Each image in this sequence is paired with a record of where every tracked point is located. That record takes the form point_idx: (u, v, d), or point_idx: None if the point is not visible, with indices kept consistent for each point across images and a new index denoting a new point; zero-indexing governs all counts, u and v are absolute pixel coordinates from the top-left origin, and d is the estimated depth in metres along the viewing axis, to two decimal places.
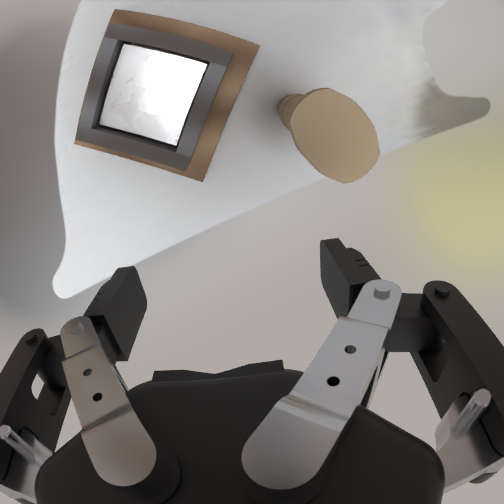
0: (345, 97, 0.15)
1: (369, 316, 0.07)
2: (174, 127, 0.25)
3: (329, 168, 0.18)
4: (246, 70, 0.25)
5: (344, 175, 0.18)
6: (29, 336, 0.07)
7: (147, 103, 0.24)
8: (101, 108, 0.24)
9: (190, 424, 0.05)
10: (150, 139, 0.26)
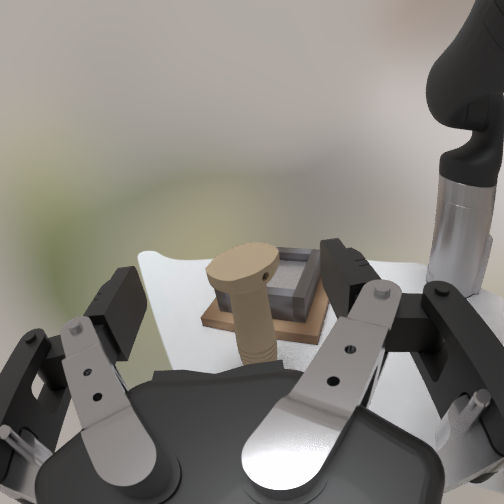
0: (274, 257, 0.24)
1: (369, 316, 0.07)
2: None
3: (218, 260, 0.25)
4: (293, 331, 0.35)
5: (212, 267, 0.24)
6: (29, 336, 0.07)
7: None
8: None
9: (190, 424, 0.05)
10: None
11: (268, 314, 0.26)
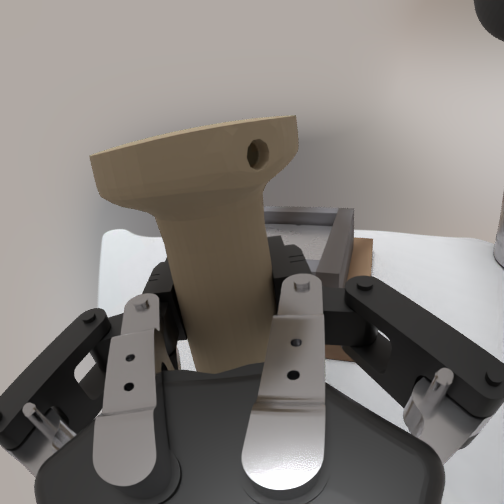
0: (285, 116, 0.08)
1: (279, 306, 0.08)
2: None
3: (137, 141, 0.09)
4: None
5: (111, 148, 0.08)
6: (88, 316, 0.08)
7: None
8: None
9: (190, 424, 0.05)
10: None
11: (268, 293, 0.10)
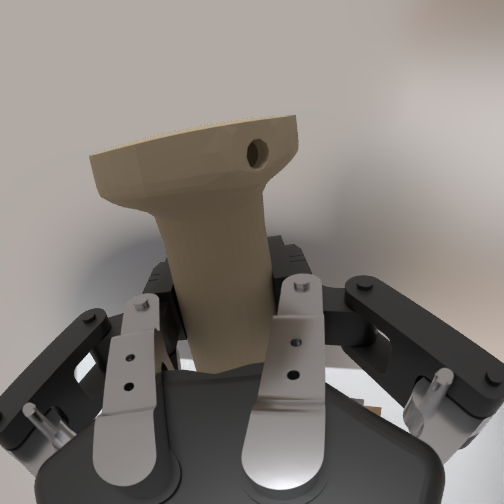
0: (285, 115, 0.08)
1: (279, 307, 0.08)
2: None
3: (137, 140, 0.09)
4: None
5: (111, 148, 0.08)
6: (88, 316, 0.08)
7: None
8: None
9: (190, 424, 0.05)
10: None
11: (267, 292, 0.10)
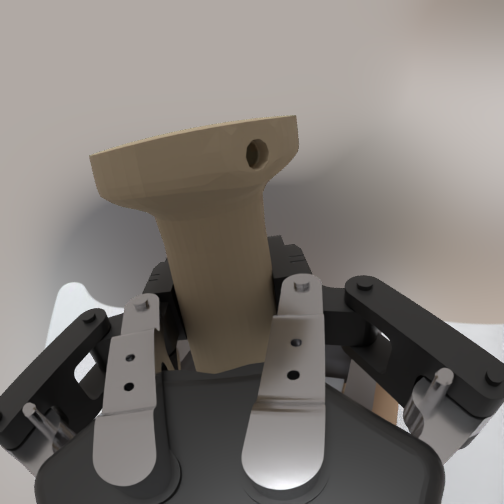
0: (285, 116, 0.08)
1: (279, 306, 0.08)
2: None
3: (137, 141, 0.09)
4: None
5: (111, 148, 0.08)
6: (88, 316, 0.08)
7: None
8: None
9: (190, 424, 0.05)
10: None
11: (267, 293, 0.10)
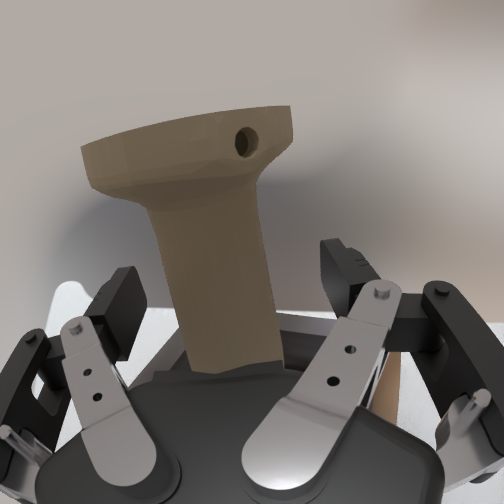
0: None
1: (369, 316, 0.07)
2: None
3: None
4: None
5: None
6: (29, 336, 0.07)
7: None
8: None
9: (190, 424, 0.05)
10: None
11: (261, 286, 0.09)
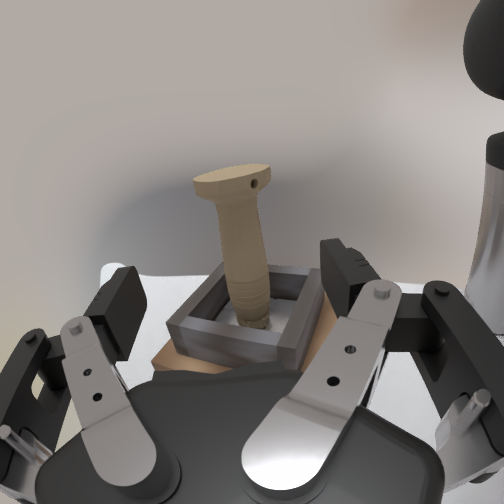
0: (264, 168, 0.23)
1: (369, 316, 0.07)
2: None
3: (207, 174, 0.23)
4: None
5: (200, 177, 0.23)
6: (29, 336, 0.07)
7: None
8: None
9: (190, 424, 0.05)
10: (206, 311, 0.30)
11: (258, 235, 0.24)
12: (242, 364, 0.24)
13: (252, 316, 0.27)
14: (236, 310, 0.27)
